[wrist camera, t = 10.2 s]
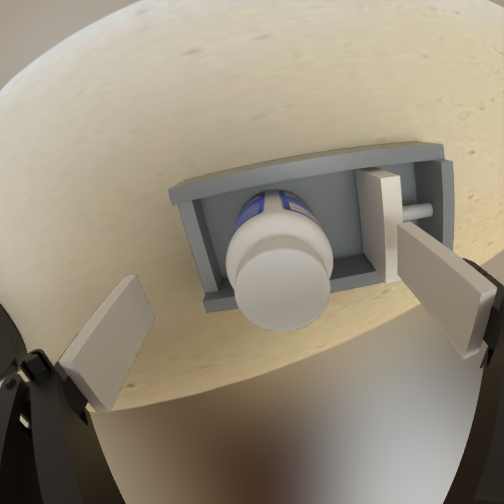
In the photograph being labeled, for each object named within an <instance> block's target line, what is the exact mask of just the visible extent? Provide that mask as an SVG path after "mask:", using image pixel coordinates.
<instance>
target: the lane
mask: <svg viewBox="0 0 504 504" xmlns="http://www.w3.org/2000/svg"><path fill="white" fill-rule="evenodd" d="M367 167H376V168H379V169H382V170H385V171H388V172H391V173H394V174H396V175H399V176H400V183H401V195H402V206H408V205H415V204H421V203H427V202H429V203H430V204H431V205H432V208H433V215H432V216H431V217H426V218H420V219H415V220H409V221H403V223H404V222H412V223H413V224H415V225H416V226H418V227H419V228H421V229H422V230H423V231H425V232H426V233H428V234H429V235H431V236H432V237H433V238H435V239H436V240H438V241H439V242H440V243H442V244H443V245H444V246H446V247H447V248H449V249H450V250H451V251H453V239H454V174H453V161H450V160H445V159H444V148H443V144H435V143H427V142H419V141H415V142H401V143H390V144H380V145H370V146H361V147H353V148H345V149H338V150H331V151H324V152H317V153H311V154H305V155H299V156H293V157H288V158H282V159H277V160H271V161H266V162H261V163H256V164H251V165H247V166H242V167H237V168H233V169H228V170H224V171H220V172H216V173H211V174H207V175H203V176H199V177H195V178H191V179H187V180H184V181H182V182H181V183H179V184H177V185H175V186H174V187H172V188H170V189H169V190H168V192H169V195H170V199H171V203H172V205H175V204H178V207H179V210H180V214H181V217H182V221H183V224H184V227H185V231H186V234H187V238H188V241H189V244H190V247H191V251H192V254H193V257H194V260H195V263H196V266H197V270H198V273H199V276H200V279H201V282H202V285H203V288H204V291H205V297H204V299H203V303H204V306H205V309H206V312H207V313H209V312H216V311H224V310H231V309H238V306H237V303H236V300H235V294H234V289H233V287H232V286H231V283H230V281H229V279H228V276H227V271H226V255H227V250H228V246H229V243H230V240H231V237H232V234H233V231H234V228H235V225H236V222H237V219H238V216H239V214H240V211H241V209H242V208H243V206H244V205H245V204H246V202H247V201H248V200H249V199H250V198H252V197H253V196H254V195H256V194H258V193H260V192H262V191H266V190H271V189H280V190H285V191H289V192H291V193H294V194H296V195H297V196H299V197H300V198H301V199H303V200H304V201H305V202H306V203H307V204H308V206H309V207H310V209H311V210H312V212H313V214H314V216H315V217H316V219H317V221H318V222H319V224H320V226H321V227H322V229H323V231H324V233H325V234H326V236H327V238H328V240H329V243H330V245H331V248H332V253H333V269H332V274H331V277H330V279H329V280H330V286H331V288H330V293H333V292H338V291H343V290H348V289H353V288H358V287H363V286H368V285H372V284H377V283H382V282H384V281H383V279H382V278H381V276H380V275H379V274H378V272H377V271H376V269H375V268H374V267H373V265H372V264H371V262H370V261H369V260H368V258H367V257H366V256H365V254H364V253H363V246H362V233H361V221H360V211H359V202H358V193H357V185H356V178H355V171H354V169H360V168H367Z"/></svg>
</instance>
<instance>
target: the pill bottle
mask: <svg viewBox="0 0 504 504" xmlns="http://www.w3.org/2000/svg"><path fill="white" fill-rule="evenodd" d="M332 269H333V253H332V248H331V245H330V243H329V240H328V238H327V236H326V234H325V233H324V231H323V229H322V227H321V226H320V224H319V222H318V221H317V219H316V217H315V216H314V214H313V212H312V210H311V209H310V207H309V206H308V204H307V203H306V202H305V201H304V200H303V199H301V198H300V197H299V196H297V195H296V194H294V193H291V192H289V191H285V190H280V189H271V190H266V191H262V192H260V193H258V194H256V195H254V196H253V197H252V198H250V199H249V200H248V201H247V202H246V204H245V205H244V206H243V208H242V209H241V211H240V214H239V216H238V219H237V222H236V225H235V228H234V231H233V234H232V237H231V240H230V243H229V246H228V250H227V255H226V271H227V276H228V279H229V281H230V283H231V286H232V287H233V289H234V294H235V300H236V303H237V306H238V308H239V309H240V311H241V313H242V314H243V315H244V316H245V317H246V318H247V319H248V320H249V321H250V322H251V323H253V324H254V325H256V326H258V327H260V328H262V329H265V330H269V331H274V332H289V331H294V330H298V329H300V328H303V327H305V326H307V325H309V324H310V323H312V322H313V321H314V320H316V319H317V318H318V317H319V316H320V315H321V313H322V312H323V311H324V309H325V307H326V305H327V303H328V301H329V297H330V288H331V286H330V280H329V279H330V277H331V274H332Z"/></svg>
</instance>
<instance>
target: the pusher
mask: <svg viewBox="0 0 504 504" xmlns="http://www.w3.org/2000/svg"><path fill="white" fill-rule="evenodd" d="M354 171H355V178H356V185H357V193H358V202H359V211H360V221H361V233H362V246H363V253H364V254H365V256H366V257H367V258H368V260H369V261H370V262H371V264H372V265H373V267H374V268H375V269H376V271H377V272H378V274H379V275H380V276H381V278H382V279H383V281H384V282H385V284H388V283H392V282H397V281H401V280H402V279H401V278H400V277H399V276H398V275H397V262H398V251H397V224H399V223H403V221H409V220H415V219H420V218H426V217H431V216H432V215H433V208H432V205H431V204H430V203H429V202H427V203H421V204H415V205H408V206H402V195H401V183H400V176H399V175H396V174H394V173H391V172H388V171H385V170H382V169H379V168H376V167H367V168H360V169H354Z"/></svg>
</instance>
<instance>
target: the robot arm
mask: <svg viewBox="0 0 504 504" xmlns="http://www.w3.org/2000/svg"><path fill="white" fill-rule="evenodd" d="M397 251H398V262H397V275H398V276H399V277H400V278H401V279H402V281H403V282H404V283H405V284H406V285H407V286H408V288H409V289H410V290H411V291H412V292H413V294H414V295H415V296H416V297H417V299H418V300H419V301H420V302H421V303H422V305H423V306H424V307H425V308H426V310H427V311H428V312H429V314H430V315H431V316H432V317H433V319H434V320H435V321H436V322H437V324H438V325H439V327H440V328H441V329H442V330H443V332H444V333H445V334H446V336H447V337H448V339H449V340H450V341H451V343H452V344H453V345H454V347H455V348H456V350H457V351H458V352H459V354H460V355H461V357H462V358H463V359H465V358H468V357H470V356H472V355H474V354H476V353H478V352H479V350H480V347H481V344H482V341H483V340H484V341H485V342H486V343H487V345H488V348H487V351H486V353H485V356H484V358H483V361H482V363H481V366H480V368H482V367H483V365H484V369H483V375H482V381H481V387H480V392H479V397H478V402H477V407H476V411H475V415H474V419H473V423H472V427H471V430H470V434H469V437H468V440H467V444H466V447H465V450H464V453H463V456H462V459H461V462H460V465H459V467H458V470H457V472H456V475H455V478H454V480H453V482H452V485H451V487H450V489H449V492H448V494H447V496H446V498H445V500H444V503H443V504H504V286H503V285H502V284H501V283H499V282H498V281H497V280H496V279H494V278H493V277H492V276H491V275H490V274H488V273H487V272H486V271H485V270H484V269H482V268H481V267H480V266H478V265H477V264H476V263H475V262H472V261H470V260H468V259H465V258H463V259H462V258H460V257H459V256H458V255H457V254H455V253H454V252H453V251H451V250H450V249H449V248H447V247H446V246H444V245H443V244H442V243H440V242H439V241H438V240H436V239H435V238H433V237H432V236H431V235H429V234H428V233H426V232H425V231H423V230H422V229H421V228H419V227H418V226H416V225H415V224H413V223H412V222H404V223H399V224H397ZM154 320H155V316H154V314H153V312H152V310H151V307H150V305H149V303H148V300H147V298H146V296H145V293H144V291H143V289H142V286H141V284H140V281H139V279H138V276H137V274H134V275H128V276H124V277H123V279H122V280H121V281H120V282H119V283H118V285H117V286H116V287H115V288H114V289H113V291H112V292H111V293H110V294H109V295H108V297H107V298H106V299H105V300H104V302H103V303H102V304H101V305H100V307H99V308H98V309H97V310H96V312H95V313H94V314H93V315H92V317H91V318H90V319H89V320H88V322H87V323H86V324H85V326H84V327H83V328H82V330H81V331H80V332H79V333H78V334H77V335H76V337H75V338H74V339H73V341H72V343H70V345H69V346H68V348H67V349H66V350H65V352H64V353H63V354H62V356H61V357H60V359H59V360H58V361H57V363H56V364H55V366H53V365H52V363H51V362H50V360H49V359H48V357H47V356H46V354H45V353H44V351H43V350H41V349H36V350H33V351H31V352H30V353H28V354H27V353H26V349H25V346H24V343H23V341H22V339H21V337H20V335H19V333H18V331H17V329H16V327H15V326H14V324H13V322H12V321H11V319H10V318H9V316H8V315H7V313H6V312H5V311H4V309H3V308H2V307H1V305H0V382H1V381H3V380H4V382H3V383H2V385H1V387H0V504H126V503H125V501H124V499H123V497H122V495H121V493H120V491H119V489H118V487H117V485H116V482H115V480H114V478H113V476H112V473H111V471H110V469H109V466H108V464H107V462H106V459H105V456H104V454H103V451H102V449H101V446H100V443H99V440H98V438H97V435H96V432H95V429H94V426H93V423H92V419H91V416H90V414H89V412H88V410H87V409H86V408H85V407H86V405H87V403H88V402H89V403H90V404H91V406H92V407H93V408H94V409H95V410H96V411H99V412H109V413H110V412H111V410H112V407H113V405H114V403H115V401H116V399H117V396H118V394H119V392H120V390H121V388H122V385H123V383H124V381H125V379H126V377H127V375H128V373H129V370H130V368H131V366H132V364H133V362H134V360H135V358H136V356H137V354H138V352H139V350H140V348H141V346H142V344H143V342H144V340H145V338H146V336H147V334H148V332H149V330H150V328H151V326H152V324H153V322H154ZM21 369H22V371H23V372H24V373H25V375H26V376H27V378H28V379H29V380H30V381H29V382H25V381H24V380H23V379H22V377H21V376H20V375H19V374H17V373H18V372H19V371H20V370H21ZM20 415H21V416H22V417H23V418H24V419H25V420H26V421H27V422H28V424H29V425H28V428H27V427H25V426H24V425H23V424H22V423H21V422H20Z"/></svg>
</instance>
